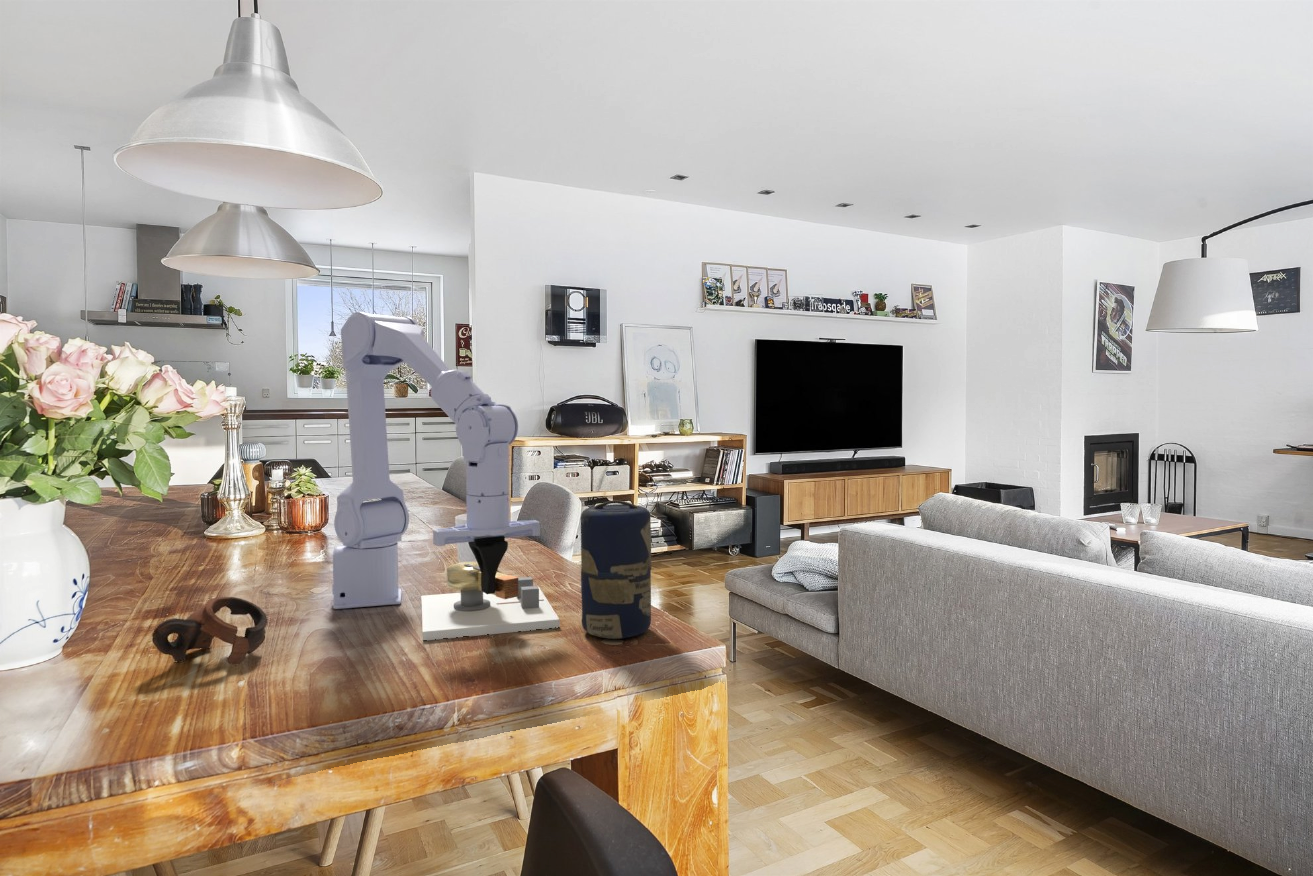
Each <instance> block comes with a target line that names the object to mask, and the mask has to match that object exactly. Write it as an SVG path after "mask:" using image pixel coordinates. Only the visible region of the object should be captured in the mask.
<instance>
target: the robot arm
mask: <svg viewBox="0 0 1313 876" xmlns="http://www.w3.org/2000/svg"><path fill="white" fill-rule="evenodd" d="M340 338H341V339H340V340H341V351H342V352H341V353H342V355H341V356H342V367H343V368H344V369H345V382H346V397H347V413H348V426H349V427H348V429H349V442H350V443H349V444H350V459H351V470H352V472H351V473H352V482H351V483H350V484H349V485H348V486H347V487H346V488H345V489H344V490H342V492H340V493H339V494H338V495H337V497H336V502H337V503H336V505H337V506H336V512H335V515H334V519H333V520H334V521H333V525H334V526H333V527H334V532H335V534H336V535H337V538H338V540H340V542H342V545H336V546H334V548H333V552H332V553H333V555H332V581H333V582H332V588H331V589H332V591H331V592H332V595H333V609H335V610H341V609H352V608H363V607H376V606H378V607H379V606H390V605H400V604H401V603H402V588H400V587H399V557H398V556H399V553H398V552H399V547H398V545H399V544H398V542H399V543H400V542H402V537H403V535H404V534H405V533H406V532H407V530H408V528H409V523H410V513H409V511H408V507H407V505H406V503H405V496H404V491H403V489H402V488H401V487H399V486H398V485H397V484H396V483H394V482H393V481H392V480H391V479H390V464H389V463H390V462H389V461H390V460H389V451H388V450H389V448H388V435H387V434H388V433H387V417H386V402H385V401H386V400H385V386H384V379H385V378H386V377H387V376H388V375H389V373H390V372H392V371H393V370H395V369H397V368H399V367H400V366H401V365H402V364H404V363H405V364H406V365H407V366H409V368H410V369H412V371H414V372H415V373H416V374H417V375H419V376H420V378H421V379H423V380H424V381H425V382H426V383H427V384H428V385H429V386H431V388H430V397H431V399H432V400H433V401H434V403H436V405H437V406H438V407H439V408H440V409H441V410H442V411H443V412H444V413H445V414H446V415H447V416H448V417H449V419H450V420H451V421H452V422H453V423H454V425H455V433H456V437H457V439H458V441H459V443H460V445H461V449H462V452H461V453H462V457H463V460H464V461H465V464H466V465H465V467H466V469H465V470H466V471H465V472H466V473H465V474H466V475H465V476H466V483H465V484H466V487H465V488H466V514H467V525H461V526H456V525H455V526H450V527H444V528H438V529H432V537H433V538H432V541H433V543H432V544H433V545H434V546H437V547H445V546H446V545H451V544H457V543H464V542H468V544H469V547H470V548H471V550H472V552H473V554H474V556H475V558H476V560H477V563H478V565H479V568H480V571H481V589H482V591H483V592H484V593H486V594H492V593H495V589H496V579H495V576H496V573H497V572H498V569H499V566H500V564H501V563H502V559H503V558H504V556H505V554H506V552H507V551H508V547H509V543H508V541H507V540H505V539H511V538H518V537H519V538H520V537H527V536H532V537H536V536H537V537H538V536H541V521H538V520H536V519H531V520H510V445H511V444H513V442H514V441H516V439H517V436H518V433H519V420H518V418H517V416H516V414H515V412H514V411H513V409H512V407H511V406H510V405H508V404H504V403H503V404H502V403H497V402H495V401H493V400H492V398H491V396H490V395H489V394H487V393H484V391H483V390H482V389H480V388H479V386H478V385H477V384H476V383H475V382H474V381H473V380H472V377H473V376H472V375H471V374H470V373H469V372H468V371H463V370H460V369H452V370H451V368H449V366H447V364H446V363H445V361H444V360H443V359H442V358H441V357H440V356H439V354H438V353H437V352H436V351H435V350H434V348H433V347H432V346H431V344H429V342H428V341H427V340H426V339H425V331H424V328H423V327H422V326H420V325H419V324H418V323H417V322H416V320H415V319H414V318H412V317H410V316H392V315H391V316H390V315H384V314H383V315H382V314H373V313H372V314H371V313H365V312H363V311H356V312H353V313H352V314H350V315H349V317H348V318H347V319H346V321H345V322H344V324H343V325H342V327H341V329H340ZM376 499H378V500H376ZM368 500H371V501H368ZM477 536H478V537H477Z"/></svg>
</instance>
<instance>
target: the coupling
mask: <svg viewBox="0 0 1313 876" xmlns="http://www.w3.org/2000/svg"><path fill="white" fill-rule="evenodd" d="M518 578H519V576H514V575H510V574H506V573H503V572H498V571H497V573H496V576H495V579H496V589H495V593H492V594H493V595H496V597H499V598H502V599H509V598H513V597H518ZM446 587H447V588H449V589H450V590H455V591H456V590H457V591H461V590H481V591H482V589H481V571H480V568H479V565H478V563H477V562H462V563H459V562H458V563H457V562H456V563H453V564H451V565H449V566H447V567H446Z"/></svg>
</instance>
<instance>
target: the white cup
mask: <svg viewBox="0 0 1313 876" xmlns="http://www.w3.org/2000/svg"><path fill="white" fill-rule="evenodd" d="M454 523H455V524H454V525H455V526H461V525H467V513H462V514H459V515H456V516H455V517H454ZM477 537H478V536H477ZM456 552H457V553H456V554H457V555H456V556H457V559H458V563H462V562H477V560H476V558H475V556H474V554H473V552H472V550H471V548H470V547H469V544H468V542H464V543H456Z"/></svg>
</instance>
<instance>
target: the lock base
mask: <svg viewBox="0 0 1313 876" xmlns="http://www.w3.org/2000/svg"><path fill="white" fill-rule="evenodd" d="M420 597H421V600H420V601H421V623H422V624H421V625H422V627H421V630H422V631H421V632H422V641H423V640H427V641H436V640H444V639H443V638H448V639H455V638H456V637H458V638H464V637H463V636H469V637H475V636H476V637H479V636H488V635H487V634H489V635H498V634H506V633H507V634H509V633H518V631H521V632H529V631H530V630H531V631H537V630H536V629H542V630H550V629H549V628H552V629H559V628H558V627H561V626H560V618H559V616H558V614H557V613H556V612H555V610H554V609H553V608H554V607H552V605H551V603H550V602H549V600H548V599H547V597H546V596H545V594H544V592H543V590H541V588H540V586H538V585H534V578H533V577H532V576H524V577H518V597H513V598H509V599H502V598H499V597H496V595H493V594H486V593H484V592H483V591H481V590H460V592H456V593H455V592H453V593H451V592H450V593H442V594H430V595H429V594H428V595H421V596H420ZM555 627H556V628H555ZM435 639H436V640H435ZM456 639H457V638H456Z"/></svg>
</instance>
